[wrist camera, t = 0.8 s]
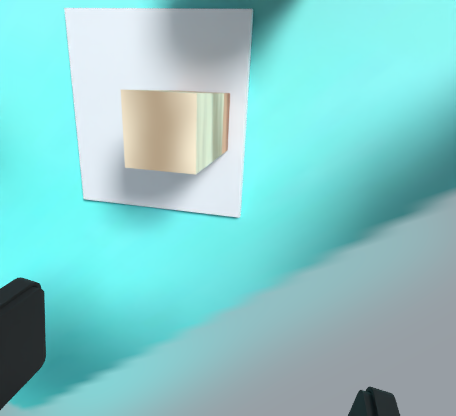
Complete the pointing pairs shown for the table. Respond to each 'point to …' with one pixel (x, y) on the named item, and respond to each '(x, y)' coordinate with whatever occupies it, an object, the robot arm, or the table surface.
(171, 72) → the white square plate
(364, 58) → the table surface
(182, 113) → the maple block
